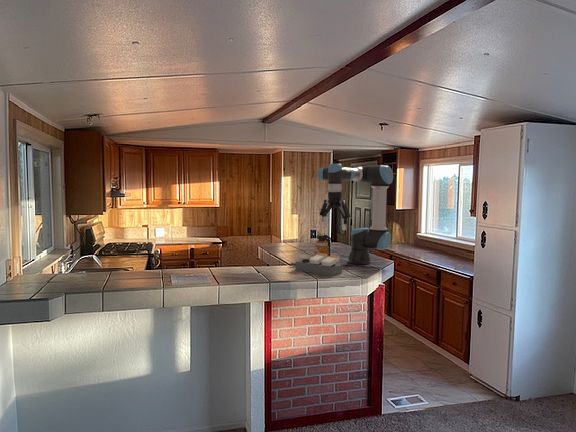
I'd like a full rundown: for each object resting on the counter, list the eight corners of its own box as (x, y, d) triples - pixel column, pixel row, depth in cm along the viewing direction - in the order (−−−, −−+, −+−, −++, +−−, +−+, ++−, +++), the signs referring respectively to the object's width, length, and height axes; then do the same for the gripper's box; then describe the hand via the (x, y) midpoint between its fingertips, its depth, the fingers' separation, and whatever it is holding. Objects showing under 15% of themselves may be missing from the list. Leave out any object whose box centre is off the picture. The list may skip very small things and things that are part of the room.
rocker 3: (331, 258, 270) (330, 254, 269) (339, 260, 266) (339, 255, 265) (321, 265, 263) (321, 260, 262) (330, 266, 259) (329, 262, 258)
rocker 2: (319, 256, 276) (318, 252, 275) (327, 258, 272) (326, 253, 271) (309, 263, 269) (309, 258, 268) (317, 264, 265) (317, 260, 264)
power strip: (296, 265, 289) (296, 255, 288) (341, 273, 266) (342, 263, 265) (285, 267, 280) (285, 258, 280) (331, 276, 258) (331, 266, 257)
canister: (312, 264, 291) (312, 234, 289) (326, 263, 296) (327, 233, 294) (318, 267, 283) (319, 235, 281) (333, 265, 288) (334, 235, 286)
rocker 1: (307, 259, 281) (308, 254, 282) (315, 260, 277) (315, 255, 278) (297, 257, 274) (298, 252, 274) (305, 258, 270) (306, 254, 270)
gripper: (313, 190, 255) (313, 227, 258) (348, 192, 238) (348, 231, 240) (322, 190, 261) (321, 226, 263) (357, 191, 243) (356, 230, 245)
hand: (334, 229), depth 251 cm, fingers open, 13 cm apart
